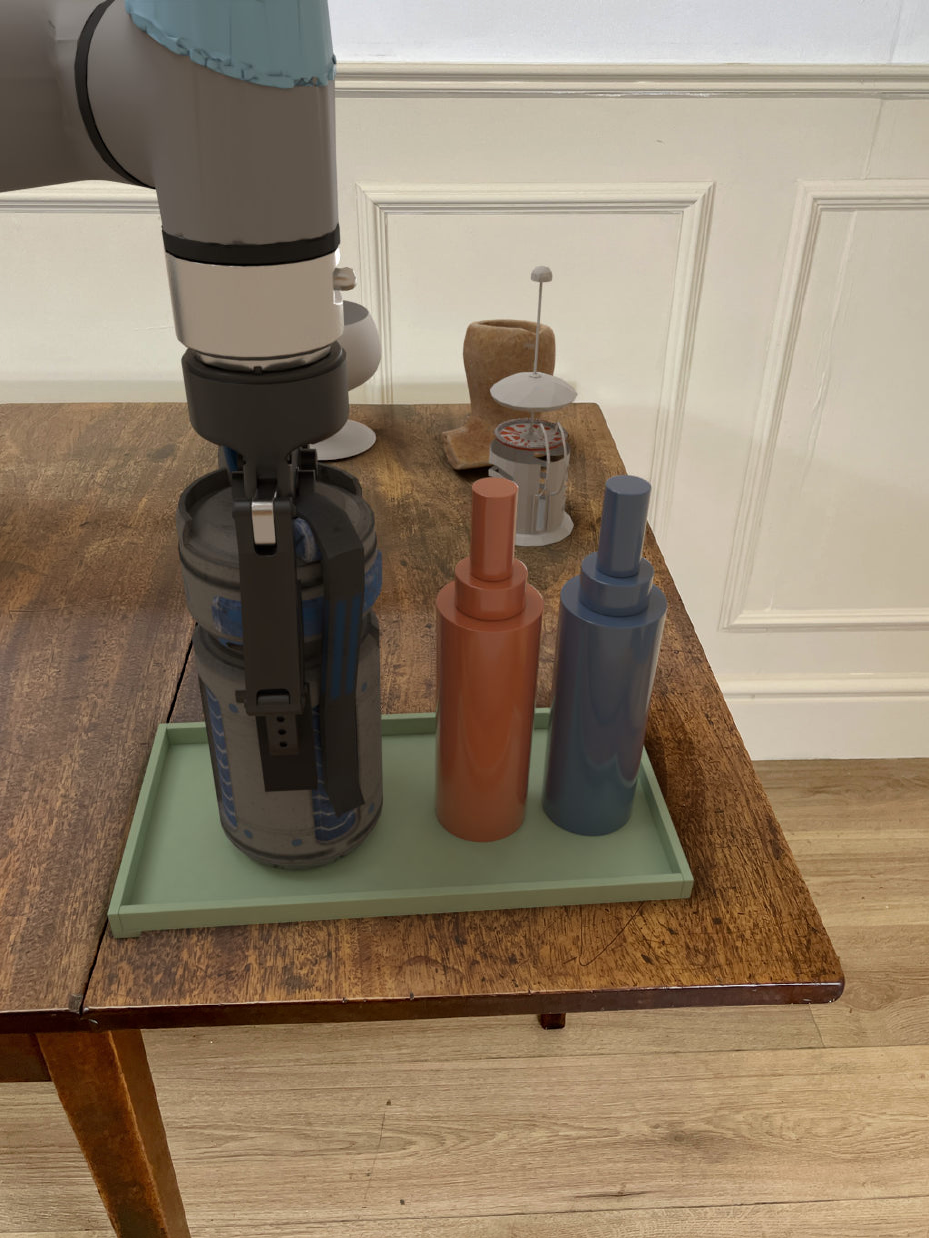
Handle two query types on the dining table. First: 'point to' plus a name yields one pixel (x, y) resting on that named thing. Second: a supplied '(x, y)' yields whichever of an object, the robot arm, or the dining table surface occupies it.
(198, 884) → the tray
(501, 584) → the terracotta bottle
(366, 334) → the chalice
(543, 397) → the french press
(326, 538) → the beverage bottle
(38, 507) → the dining table surface
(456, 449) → the brown suede boot
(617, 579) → the slate-blue bottle
